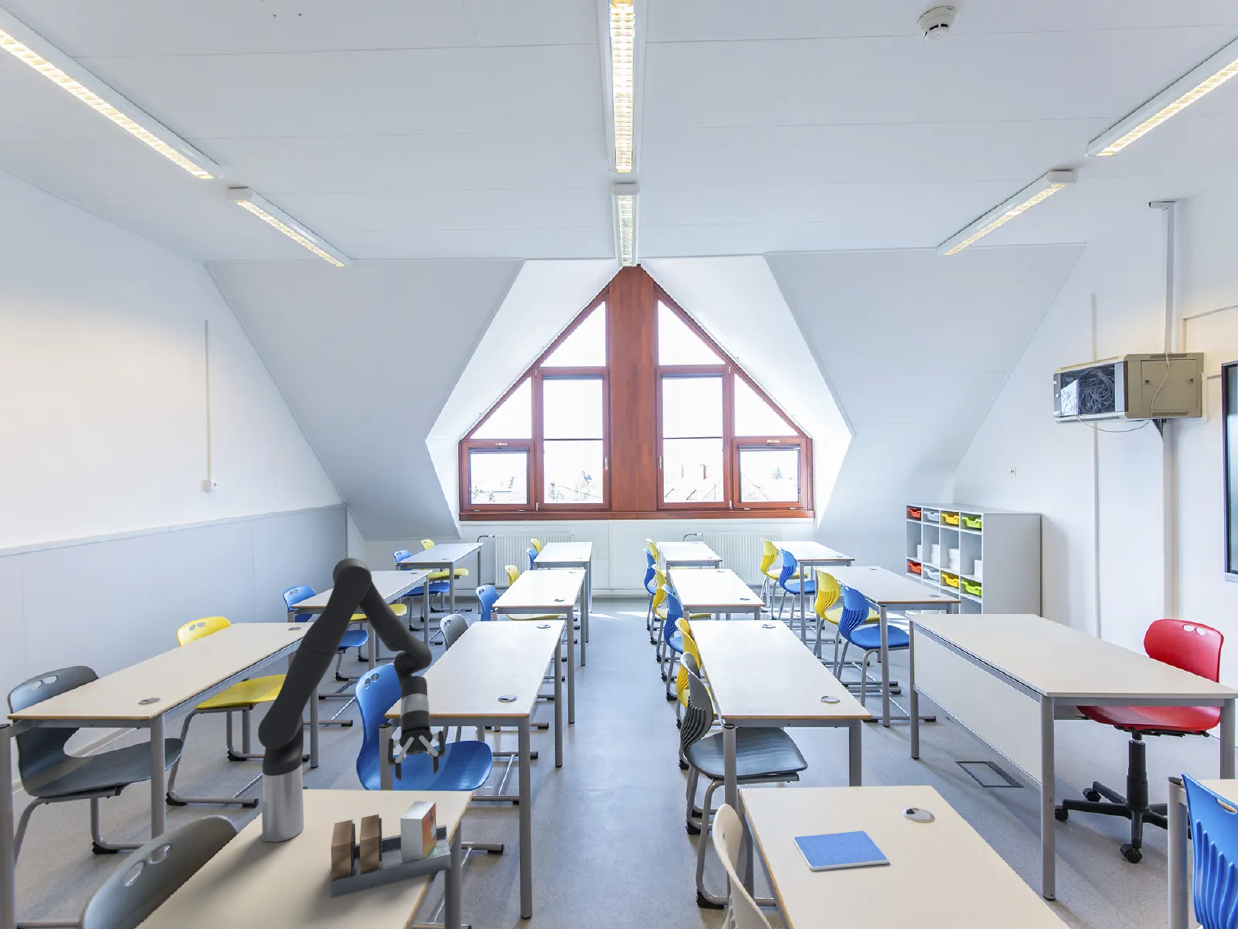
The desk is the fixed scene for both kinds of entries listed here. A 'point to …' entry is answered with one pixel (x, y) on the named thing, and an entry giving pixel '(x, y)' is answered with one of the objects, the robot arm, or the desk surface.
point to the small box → (418, 831)
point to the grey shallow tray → (394, 865)
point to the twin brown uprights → (346, 846)
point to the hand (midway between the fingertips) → (417, 776)
